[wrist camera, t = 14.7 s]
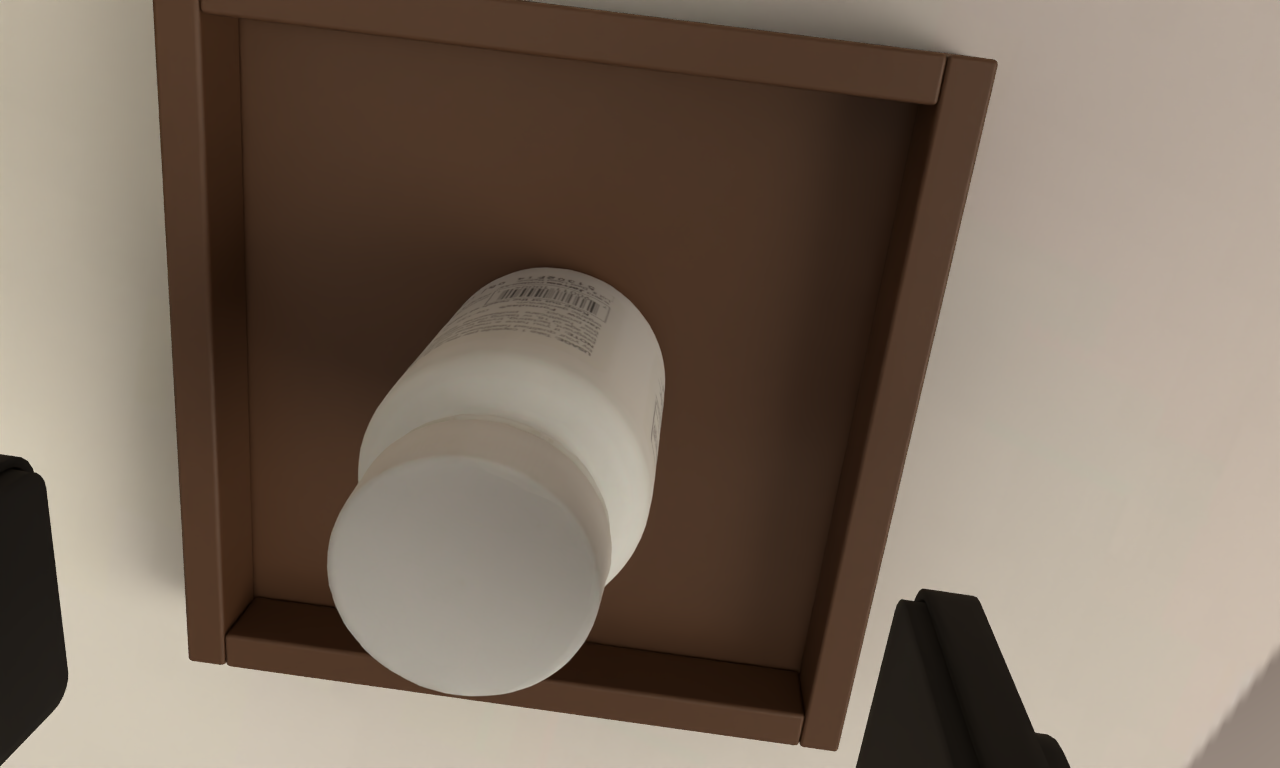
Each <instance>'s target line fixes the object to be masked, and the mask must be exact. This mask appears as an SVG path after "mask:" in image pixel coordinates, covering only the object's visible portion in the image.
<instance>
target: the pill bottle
mask: <svg viewBox="0 0 1280 768" xmlns="http://www.w3.org/2000/svg"><path fill="white" fill-rule="evenodd" d="M664 392H665V369H664V362H663V358H662V353H661V350H660V347H659V344H658V342H657V339H656V337H655V335H654V333H653V331H652V329H651V327H650V325H649V324H648V322H647V321H646V319H645V318H644V316H643V315H642V314H641V313H640V311H639V310H638V309H637V308H636V307H635V306H634V305H633V303H632V302H631V301H630V300H629V299H627V298H626V297H625V296H624V295H623V294H622V293H620V292H619V291H617V290H616V289H615V288H613V287H612V286H610V285H609V284H607V283H605V282H603V281H601V280H599V279H597V278H594V277H592V276H589V275H587V274H584V273H580V272H577V271H573V270H568V269H559V268H548V267H545V268H530V269H525V270H520V271H517V272H513V273H511V274H508V275H506V276H503V277H501V278H498V279H496V280H494V281H492V282H491V283H489V284H487V285H486V286H484V287H482V288H481V289H480V290H479V291H477V292H476V293H475V294H474V295H472V296H471V297H470V298H469V299H468V300H467V301H466V302H465V303H464V304H463V306H462V307H461V308H460V309H459V310H458V311H457V312H456V313H455V315H454V316H453V317H452V318H451V319H450V321H449V322H448V323H447V324H446V325H445V326H444V327H443V328H442V330H441V331H440V332H439V333H438V334H437V336H436V337H435V338H434V339H433V340H432V341H431V343H430V344H429V345H428V346H427V347H426V348H425V350H424V351H423V352H422V353H421V354H420V355H419V357H418V358H417V359H416V360H415V361H414V363H413V364H412V365H411V366H410V367H409V368H408V369H407V371H406V372H405V373H404V374H403V376H402V377H401V378H400V379H399V380H398V381H397V383H396V384H395V385H394V386H393V388H392V389H391V390H390V391H389V393H388V394H387V395H386V397H385V398H384V399H383V401H382V402H381V404H380V405H379V406H378V408H377V409H376V411H375V413H374V415H373V417H372V419H371V421H370V423H369V425H368V427H367V430H366V432H365V435H364V438H363V441H362V445H361V448H360V456H359V465H358V484H357V486H356V487H355V489H354V490H353V492H352V493H351V495H350V496H349V498H348V499H347V501H346V503H345V504H344V506H343V508H342V510H341V511H340V513H339V515H338V518H337V520H336V522H335V525H334V527H333V530H332V533H331V536H330V541H329V547H328V555H327V572H328V580H329V587H330V590H331V592H332V596H333V600H334V603H335V606H336V608H337V610H338V612H339V614H340V616H341V618H342V620H343V622H344V624H345V625H346V627H347V629H348V630H349V631H350V632H351V634H352V635H353V636H354V637H355V639H356V640H357V641H358V642H359V643H360V645H361V646H362V647H363V648H364V649H365V650H366V651H367V652H368V653H369V654H370V655H371V656H372V657H373V658H374V659H376V660H377V661H378V662H379V663H381V664H382V665H383V666H385V667H386V668H388V669H389V670H391V671H392V672H394V673H396V674H398V675H400V676H401V677H403V678H405V679H407V680H409V681H411V682H413V683H415V684H417V685H419V686H422V687H425V688H428V689H432V690H435V691H439V692H442V693H447V694H453V695H462V696H490V695H500V694H506V693H511V692H515V691H518V690H521V689H524V688H527V687H530V686H532V685H534V684H537V683H539V682H540V681H542V680H544V679H546V678H548V677H549V676H551V675H552V674H554V673H555V672H557V671H558V670H559V669H561V668H562V667H563V666H564V665H565V664H566V663H567V662H569V661H570V659H571V658H572V657H573V656H574V655H575V654H576V652H577V651H578V650H579V649H580V647H581V646H582V645H583V643H584V642H585V640H586V639H587V637H588V635H589V633H590V631H591V629H592V627H593V624H594V622H595V619H596V616H597V613H598V610H599V606H600V602H601V599H602V595H603V591H604V587H605V586H606V585H607V584H608V583H609V582H610V581H611V580H612V579H613V578H614V577H615V576H616V575H617V574H618V573H619V572H620V570H621V569H622V568H623V567H624V566H625V564H626V563H627V562H628V560H629V559H630V557H631V556H632V554H633V553H634V551H635V549H636V547H637V545H638V543H639V541H640V539H641V537H642V534H643V532H644V529H645V526H646V522H647V519H648V515H649V510H650V505H651V501H652V496H653V488H654V481H655V472H656V464H657V456H658V447H659V439H660V429H661V421H662V413H663V406H664Z"/></svg>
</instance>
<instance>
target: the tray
mask: <svg viewBox="0 0 1280 768" xmlns="http://www.w3.org/2000/svg"><path fill="white" fill-rule="evenodd" d="M153 13H154V31H155V50H156V68H157V86H158V104H159V122H160V141H161V159H162V177H163V195H164V213H165V232H166V250H167V268H168V286H169V305H170V323H171V341H172V359H173V377H174V396H175V414H176V432H177V450H178V468H179V487H180V505H181V523H182V541H183V560H184V578H185V596H186V614H187V632H188V651H189V659H190V660H192V661H198V662H205V663H212V664H219V665H222V664H225V663H226V662H227V665H229V666H233V667H240V668H247V669H254V670H261V671H269V672H276V673H283V674H290V675H297V676H304V677H311V678H319V679H326V680H333V681H340V682H347V683H354V684H361V685H369V686H376V687H383V688H390V689H397V690H404V691H411V692H418V693H426V694H433V695H440V696H447V697H454V698H461V699H468V700H476V701H483V702H490V703H497V704H504V705H511V706H518V707H526V708H533V709H540V710H547V711H554V712H561V713H568V714H576V715H583V716H590V717H597V718H604V719H611V720H618V721H625V722H633V723H640V724H647V725H654V726H661V727H668V728H675V729H683V730H690V731H697V732H704V733H711V734H718V735H725V736H733V737H740V738H747V739H754V740H761V741H768V742H775V743H783V744H790V745H797V744H798V743H800V745H801V746H802V747H808V748H815V749H822V750H830V751H837V749H838V746H839V742H840V738H841V733H842V729H843V725H844V721H845V716H846V712H847V708H848V704H849V699H850V695H851V691H852V686H853V682H854V678H855V674H856V669H857V665H858V661H859V656H860V652H861V648H862V644H863V639H864V635H865V631H866V627H867V622H868V618H869V614H870V609H871V605H872V601H873V597H874V592H875V588H876V584H877V579H878V575H879V571H880V567H881V562H882V558H883V554H884V550H885V545H886V541H887V537H888V532H889V528H890V524H891V520H892V515H893V511H894V507H895V502H896V498H897V494H898V490H899V485H900V481H901V477H902V473H903V468H904V464H905V460H906V455H907V451H908V447H909V443H910V438H911V434H912V430H913V425H914V421H915V417H916V413H917V408H918V404H919V400H920V396H921V391H922V387H923V383H924V378H925V374H926V370H927V366H928V361H929V357H930V353H931V348H932V344H933V340H934V336H935V331H936V327H937V323H938V318H939V314H940V310H941V306H942V301H943V297H944V293H945V289H946V284H947V280H948V276H949V271H950V267H951V263H952V259H953V254H954V250H955V246H956V241H957V237H958V233H959V229H960V224H961V220H962V216H963V212H964V207H965V203H966V199H967V194H968V190H969V186H970V182H971V177H972V173H973V169H974V164H975V160H976V156H977V152H978V147H979V143H980V139H981V135H982V130H983V126H984V122H985V117H986V113H987V109H988V105H989V100H990V96H991V92H992V87H993V83H994V79H995V75H996V70H997V66H998V64H997V61H996V60H994V59H986V58H979V57H972V56H964V55H956V54H948V53H940V52H932V51H924V50H916V49H908V48H900V47H892V46H884V45H876V44H868V43H860V42H852V41H844V40H836V39H828V38H820V37H812V36H804V35H796V34H788V33H780V32H772V31H764V30H756V29H748V28H740V27H732V26H724V25H716V24H708V23H700V22H692V21H684V20H676V19H668V18H660V17H652V16H644V15H636V14H628V13H619V12H611V11H603V10H595V9H587V8H579V7H571V6H563V5H555V4H547V3H539V2H531V1H523V0H153ZM545 267H548V268H559V269H568V270H573V271H577V272H580V273H584V274H587V275H589V276H592V277H594V278H597V279H599V280H601V281H603V282H605V283H607V284H609V285H610V286H612V287H613V288H615V289H616V290H617V291H619V292H620V293H622V294H623V295H624V296H625V297H626V298H627V299H629V300H630V301H631V302H632V303H633V305H634V306H635V307H636V308H637V309H638V310H639V311H640V313H641V314H642V315H643V316H644V318H645V319H646V321H647V322H648V324H649V325H650V327H651V329H652V331H653V333H654V335H655V337H656V339H657V342H658V344H659V347H660V350H661V353H662V358H663V362H664V369H665V392H664V406H663V413H662V421H661V429H660V439H659V447H658V456H657V464H656V472H655V481H654V488H653V496H652V501H651V505H650V510H649V515H648V519H647V522H646V526H645V529H644V532H643V534H642V537H641V539H640V541H639V543H638V545H637V547H636V549H635V551H634V553H633V554H632V556H631V557H630V559H629V560H628V562H627V563H626V564H625V566H624V567H623V568H622V569H621V570H620V572H619V573H618V574H617V575H616V576H615V577H614V578H613V579H612V580H611V581H610V582H609V583H608V584H607V585H606V586H605V587H604V591H603V595H602V599H601V602H600V606H599V610H598V613H597V616H596V619H595V622H594V624H593V627H592V629H591V631H590V633H589V635H588V637H587V639H586V640H585V642H584V643H583V645H582V646H581V647H580V649H579V650H578V651H577V652H576V654H575V655H574V656H573V657H572V658H571V659H570V661H569V662H567V663H566V664H565V665H564V666H563V667H562V668H561V669H559V670H558V671H557V672H555V673H554V674H552V675H551V676H549V677H548V678H546V679H544V680H542V681H540V682H539V683H537V684H534V685H532V686H530V687H527V688H524V689H521V690H518V691H515V692H511V693H506V694H500V695H490V696H462V695H453V694H447V693H442V692H439V691H435V690H432V689H428V688H425V687H422V686H419V685H417V684H415V683H413V682H411V681H409V680H407V679H405V678H403V677H401V676H400V675H398V674H396V673H394V672H392V671H391V670H389V669H388V668H386V667H385V666H383V665H382V664H381V663H379V662H378V661H377V660H376V659H374V658H373V657H372V656H371V655H370V654H369V653H368V652H367V651H366V650H365V649H364V648H363V647H362V646H361V645H360V643H359V642H358V641H357V640H356V639H355V637H354V636H353V635H352V634H351V632H350V631H349V630H348V629H347V627H346V625H345V624H344V622H343V620H342V618H341V616H340V614H339V612H338V610H337V608H336V606H335V603H334V600H333V596H332V592H331V590H330V587H329V580H328V572H327V555H328V547H329V541H330V536H331V533H332V530H333V527H334V525H335V522H336V520H337V518H338V515H339V513H340V511H341V510H342V508H343V506H344V504H345V503H346V501H347V499H348V498H349V496H350V495H351V493H352V492H353V490H354V489H355V487H356V486H357V484H358V465H359V456H360V448H361V445H362V441H363V438H364V435H365V432H366V430H367V427H368V425H369V423H370V421H371V419H372V417H373V415H374V413H375V411H376V409H377V408H378V406H379V405H380V404H381V402H382V401H383V399H384V398H385V397H386V395H387V394H388V393H389V391H390V390H391V389H392V388H393V386H394V385H395V384H396V383H397V381H398V380H399V379H400V378H401V377H402V376H403V374H404V373H405V372H406V371H407V369H408V368H409V367H410V366H411V365H412V364H413V363H414V361H415V360H416V359H417V358H418V357H419V355H420V354H421V353H422V352H423V351H424V350H425V348H426V347H427V346H428V345H429V344H430V343H431V341H432V340H433V339H434V338H435V337H436V336H437V334H438V333H439V332H440V331H441V330H442V328H443V327H444V326H445V325H446V324H447V323H448V322H449V321H450V319H451V318H452V317H453V316H454V315H455V313H456V312H457V311H458V310H459V309H460V308H461V307H462V306H463V304H464V303H465V302H466V301H467V300H468V299H469V298H470V297H471V296H472V295H474V294H475V293H476V292H477V291H479V290H480V289H481V288H482V287H484V286H486V285H487V284H489V283H491V282H492V281H494V280H496V279H498V278H501V277H503V276H506V275H508V274H511V273H513V272H517V271H520V270H525V269H530V268H545Z"/></svg>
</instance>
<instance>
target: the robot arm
mask: <svg viewBox="0 0 1280 768" xmlns="http://www.w3.org/2000/svg"><path fill="white" fill-rule="evenodd" d="M67 682H68V667H67V659H66V650H65V642H64V634H63V625H62V617H61V608H60V600H59V592H58V583H57V575H56V566H55V558H54V550H53V541H52V533H51V524H50V516H49V508H48V499H47V491H46V486H45V482H44V480H43V478H42V477H41V476H40V475H39V474H37V473H34V471H33V468H32V467H31V465H30V464H29V462H28V461H27V460H25V459H23V458H22V457H15V456H9V455H2V454H0V766H1V765H2V764H3V763H4V762H5V761H6V760H7V759H8V758H9V757H10V755H11V754H12V753H13V752H14V751H15V750H16V749H17V748H18V747H19V746H20V745H21V744H22V743H23V742H24V741H25V740H26V739H27V738H28V737H29V736H30V735H31V734H32V733H33V732H34V731H35V730H36V728H37V727H38V726H39V725H40V724H41V723H42V722H43V721H44V720H45V719H46V718H47V717H48V716H49V715H50V714H51V713H52V712H53V711H54V710H55V708H56V707H57V706H58V705H59V703H60V701H61V699H62V697H63V695H64V693H65V690H66V687H67ZM856 768H1070V766H1069V763H1068V761H1067V759H1066V757H1065V755H1064V752H1063V750H1062V749H1061V747H1060V746H1059V744H1058V742H1057V741H1056V740H1055V739H1054V738H1052V737H1051V736H1049V735H1047V734H1040V733H1035V732H1034V729H1033V727H1032V724H1031V722H1030V720H1029V717H1028V715H1027V713H1026V710H1025V708H1024V705H1023V703H1022V701H1021V698H1020V696H1019V694H1018V691H1017V689H1016V686H1015V684H1014V682H1013V679H1012V677H1011V674H1010V672H1009V670H1008V667H1007V665H1006V663H1005V660H1004V658H1003V655H1002V653H1001V651H1000V648H999V646H998V644H997V641H996V639H995V636H994V634H993V632H992V629H991V627H990V625H989V622H988V620H987V617H986V615H985V613H984V610H983V608H982V606H981V603H980V601H979V600H978V598H977V597H974V596H970V595H963V594H956V593H949V592H942V591H936V590H929V589H921V590H920V591H919V592H918V594H917V596H916V598H915V601H909V600H903V599H901V600H900V601H899V602H898V604H897V606H896V610H895V613H894V617H893V621H892V625H891V629H890V633H889V637H888V641H887V645H886V649H885V653H884V657H883V661H882V665H881V669H880V673H879V677H878V681H877V685H876V689H875V693H874V697H873V701H872V705H871V709H870V713H869V717H868V721H867V725H866V729H865V733H864V737H863V741H862V745H861V749H860V753H859V757H858V761H857V765H856Z"/></svg>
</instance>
